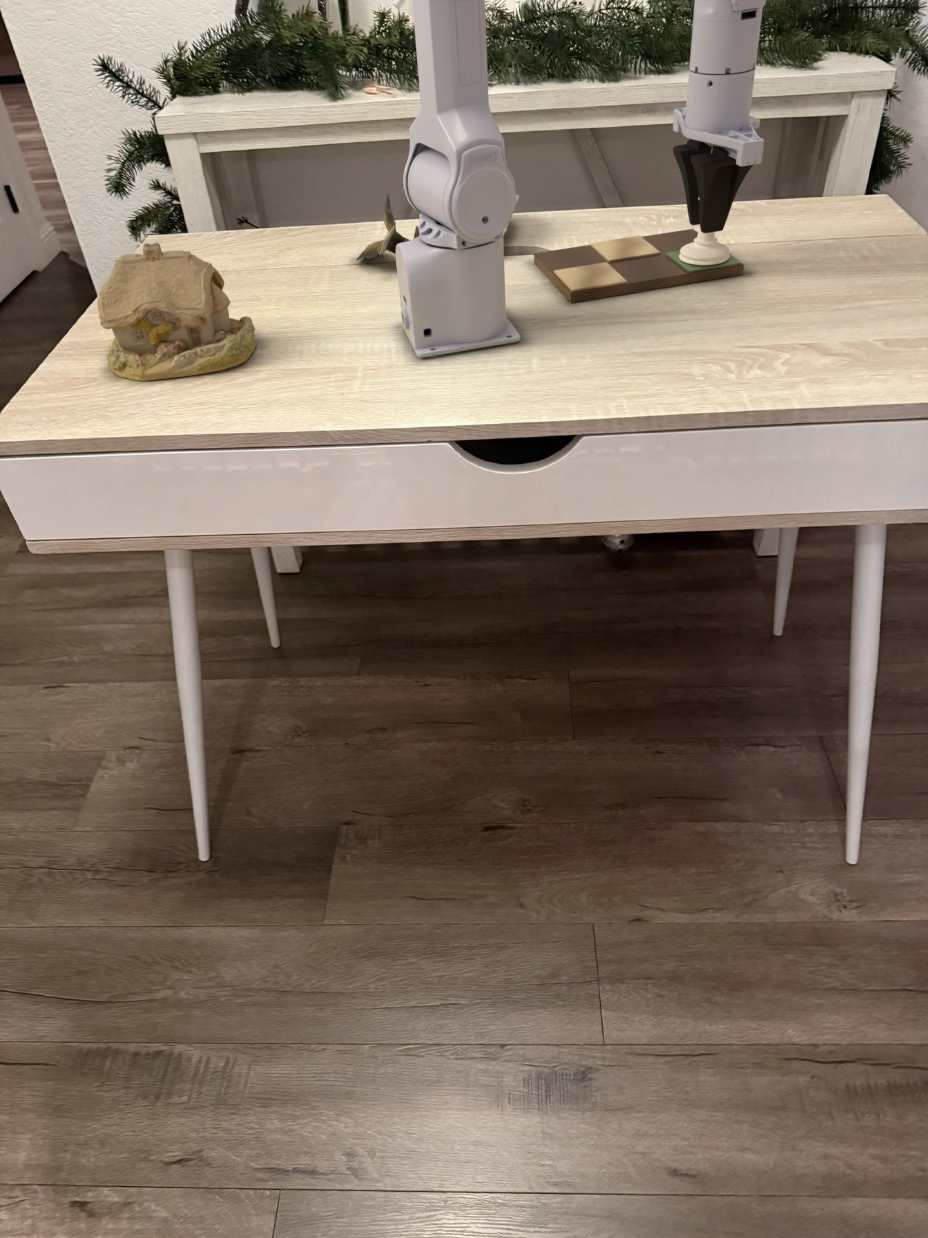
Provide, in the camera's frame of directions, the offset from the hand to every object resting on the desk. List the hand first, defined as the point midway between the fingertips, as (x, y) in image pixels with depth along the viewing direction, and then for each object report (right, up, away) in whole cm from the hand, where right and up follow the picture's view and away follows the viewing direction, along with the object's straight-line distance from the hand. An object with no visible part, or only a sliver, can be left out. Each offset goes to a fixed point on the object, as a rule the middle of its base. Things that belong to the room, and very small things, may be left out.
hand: (706, 226), depth 90 cm
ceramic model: (-50, -14, -4) cm, 52 cm away
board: (-6, -2, +4) cm, 8 cm away
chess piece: (0, -2, +2) cm, 3 cm away
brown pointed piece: (-31, 0, +10) cm, 33 cm away
